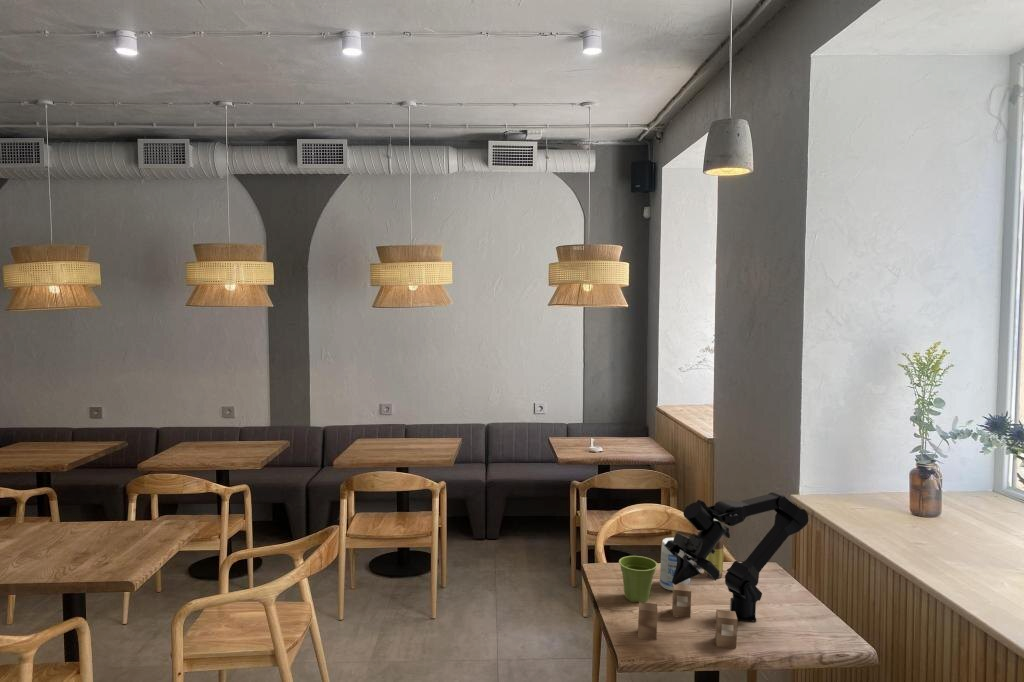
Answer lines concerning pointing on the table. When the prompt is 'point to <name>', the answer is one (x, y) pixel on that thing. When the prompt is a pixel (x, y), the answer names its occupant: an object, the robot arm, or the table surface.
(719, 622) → the marked block
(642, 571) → the plant pot
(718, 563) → the sauce bottle
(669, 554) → the supplement tub
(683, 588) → the marked block
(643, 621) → the plain block
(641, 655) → the table surface
